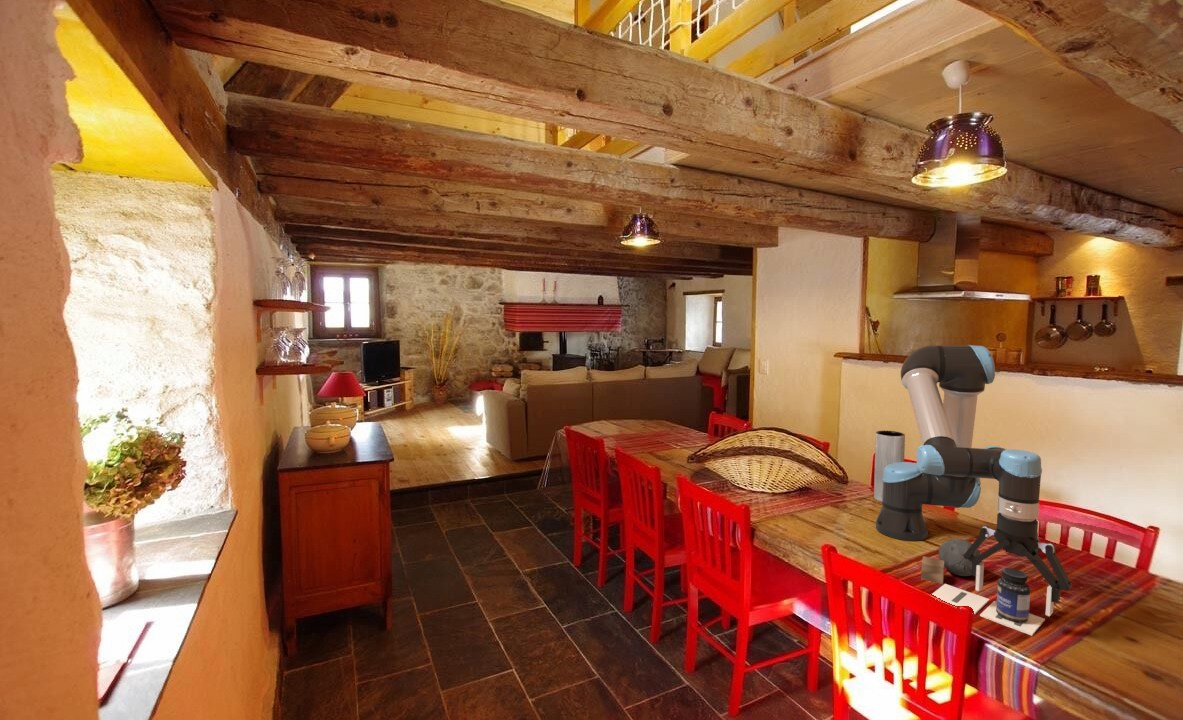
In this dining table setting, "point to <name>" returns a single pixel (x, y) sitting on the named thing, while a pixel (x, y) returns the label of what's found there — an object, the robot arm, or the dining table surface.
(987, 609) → the coaster
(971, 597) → the coaster
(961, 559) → the decorative ball
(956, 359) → the robot arm
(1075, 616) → the dining table surface
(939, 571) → the walnut block
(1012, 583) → the pill bottle
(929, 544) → the dining table surface
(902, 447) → the vase
